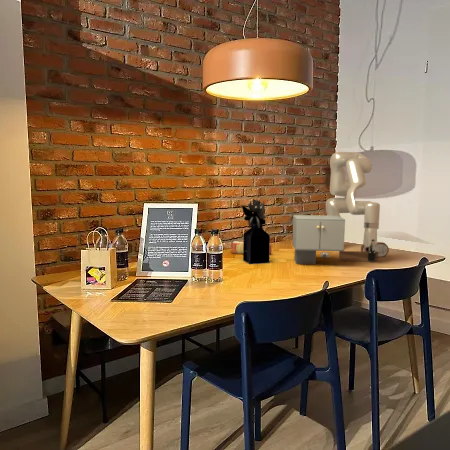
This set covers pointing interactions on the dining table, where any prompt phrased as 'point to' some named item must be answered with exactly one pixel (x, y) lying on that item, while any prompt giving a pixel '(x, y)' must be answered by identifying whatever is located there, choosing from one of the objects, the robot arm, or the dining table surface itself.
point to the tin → (379, 249)
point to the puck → (325, 254)
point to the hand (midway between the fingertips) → (369, 258)
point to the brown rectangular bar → (356, 256)
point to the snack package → (240, 248)
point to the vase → (255, 235)
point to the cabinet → (316, 236)
